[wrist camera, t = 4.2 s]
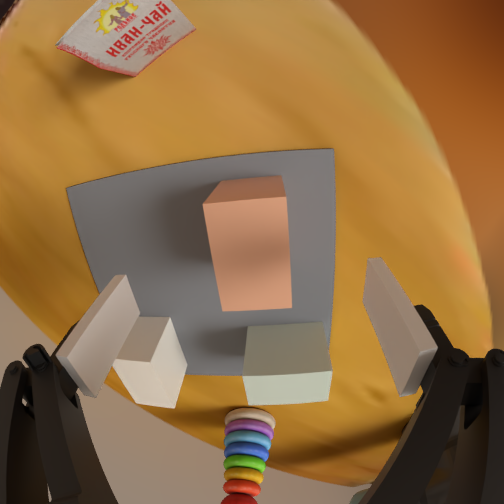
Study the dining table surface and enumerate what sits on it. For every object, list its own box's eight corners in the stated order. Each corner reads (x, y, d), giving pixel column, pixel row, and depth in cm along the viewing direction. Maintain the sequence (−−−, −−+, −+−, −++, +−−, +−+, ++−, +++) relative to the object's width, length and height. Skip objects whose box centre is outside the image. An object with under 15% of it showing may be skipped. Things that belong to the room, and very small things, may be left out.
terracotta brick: (221, 180, 23) (202, 204, 17) (281, 175, 22) (286, 196, 16) (233, 265, 26) (222, 311, 20) (287, 261, 26) (292, 307, 20)
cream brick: (132, 316, 30) (107, 357, 24) (170, 317, 30) (150, 362, 23) (152, 362, 34) (136, 403, 27) (187, 364, 33) (174, 408, 27)
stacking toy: (258, 400, 36) (250, 519, 20) (284, 422, 39) (283, 525, 22) (215, 411, 39) (197, 517, 22) (243, 431, 41) (234, 526, 25)
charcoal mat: (332, 148, 22) (333, 149, 21) (326, 368, 33) (326, 370, 32) (68, 187, 24) (66, 188, 24) (137, 368, 35) (136, 370, 35)
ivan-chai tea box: (116, 52, 18) (46, 32, 9) (174, 5, 16) (126, -43, 7) (135, 76, 19) (65, 62, 10) (196, 29, 17) (153, -18, 8)
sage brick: (322, 321, 29) (332, 370, 22) (320, 353, 31) (327, 400, 25) (247, 326, 30) (242, 376, 23) (252, 357, 32) (248, 405, 25)
